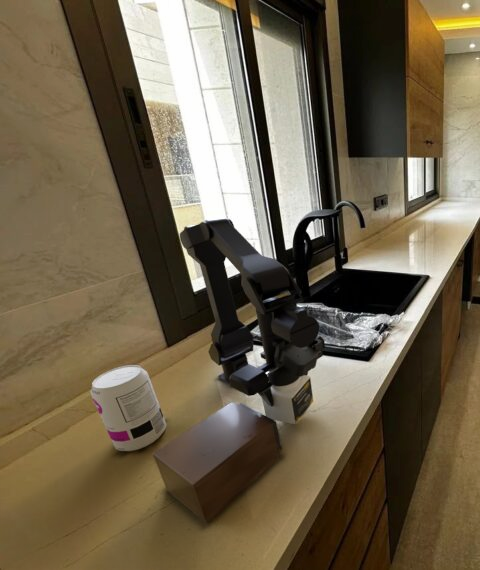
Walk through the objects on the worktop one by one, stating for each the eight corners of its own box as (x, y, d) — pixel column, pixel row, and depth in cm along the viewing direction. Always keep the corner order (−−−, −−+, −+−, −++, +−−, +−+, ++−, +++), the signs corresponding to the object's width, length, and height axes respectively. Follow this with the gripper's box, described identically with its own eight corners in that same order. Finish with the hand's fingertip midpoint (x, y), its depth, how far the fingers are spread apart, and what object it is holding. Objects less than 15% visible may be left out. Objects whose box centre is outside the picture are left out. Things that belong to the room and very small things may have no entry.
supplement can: (109, 460, 61) (79, 396, 56) (122, 429, 68) (97, 370, 63) (162, 444, 65) (139, 382, 59) (170, 416, 72) (149, 359, 66)
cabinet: (240, 435, 67) (232, 401, 64) (279, 458, 62) (272, 423, 59) (166, 490, 56) (152, 453, 53) (206, 523, 51) (192, 484, 48)
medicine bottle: (296, 425, 67) (288, 377, 62) (265, 419, 68) (255, 371, 64) (314, 401, 73) (308, 356, 69) (285, 396, 75) (277, 351, 70)
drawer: (252, 424, 69) (246, 399, 66) (286, 444, 64) (281, 417, 62) (181, 477, 57) (171, 448, 55) (217, 505, 53) (207, 474, 50)
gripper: (261, 366, 52) (276, 439, 58) (340, 318, 67) (346, 380, 73) (219, 347, 57) (237, 417, 63) (302, 307, 72) (310, 366, 78)
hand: (287, 393), depth 69 cm, fingers closed on medicine bottle, 8 cm apart
